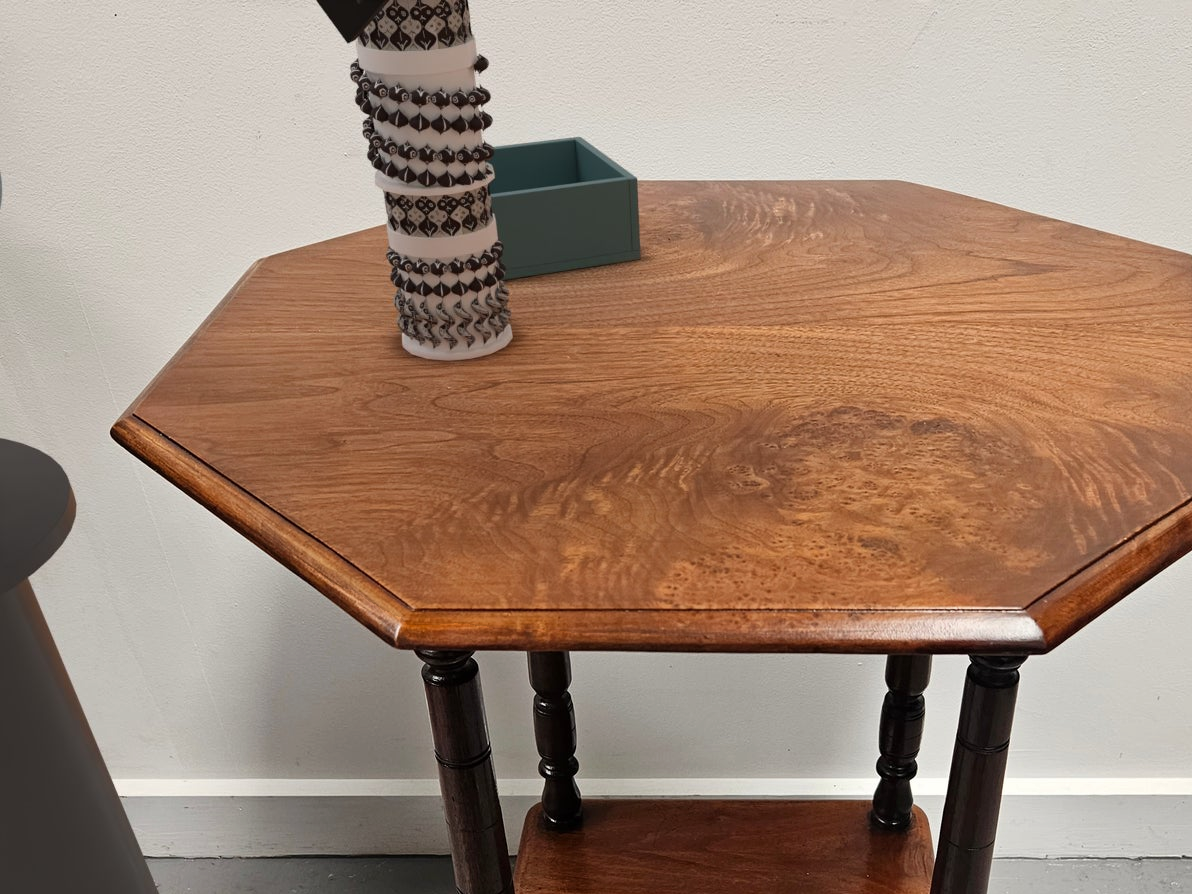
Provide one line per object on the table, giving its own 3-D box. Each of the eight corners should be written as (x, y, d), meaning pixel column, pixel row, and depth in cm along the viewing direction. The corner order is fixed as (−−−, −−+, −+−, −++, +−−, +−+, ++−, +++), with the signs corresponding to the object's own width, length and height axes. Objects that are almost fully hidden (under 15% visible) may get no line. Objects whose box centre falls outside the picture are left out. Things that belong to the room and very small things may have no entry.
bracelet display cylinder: (437, 309, 100) (383, -54, 85) (539, 325, 98) (503, -47, 82) (372, 351, 94) (300, -34, 78) (479, 369, 91) (428, -25, 76)
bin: (479, 284, 105) (468, 199, 101) (436, 232, 115) (424, 154, 111) (641, 259, 110) (637, 177, 105) (585, 212, 120) (580, 136, 116)
